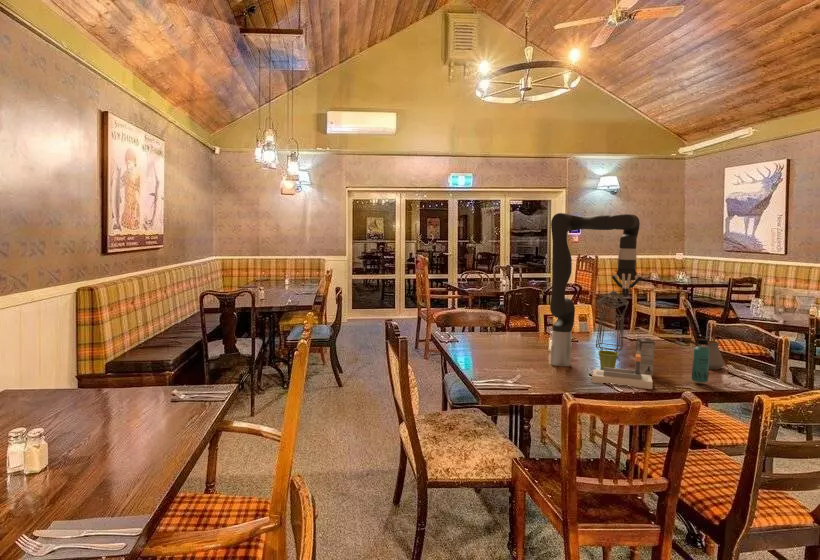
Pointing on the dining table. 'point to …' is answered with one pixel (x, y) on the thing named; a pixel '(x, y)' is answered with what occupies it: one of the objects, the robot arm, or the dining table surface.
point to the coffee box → (645, 355)
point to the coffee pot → (712, 354)
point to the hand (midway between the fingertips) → (625, 296)
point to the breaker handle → (637, 364)
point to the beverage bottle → (701, 362)
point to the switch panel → (622, 377)
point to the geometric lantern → (612, 317)
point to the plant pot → (607, 359)
